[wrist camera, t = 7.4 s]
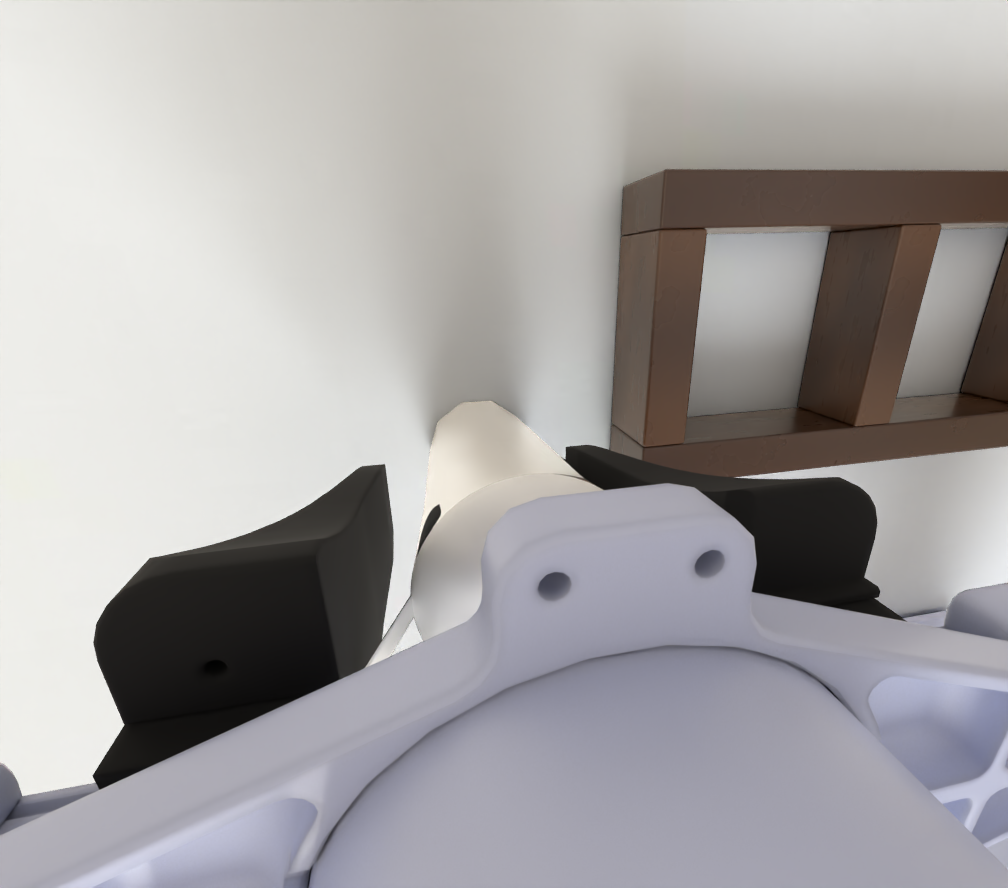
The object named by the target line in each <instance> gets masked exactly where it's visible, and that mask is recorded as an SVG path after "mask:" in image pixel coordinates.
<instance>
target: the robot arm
mask: <svg viewBox="0 0 1008 888" xmlns="http://www.w3.org/2000/svg"><path fill="white" fill-rule="evenodd" d="M566 461H568V462H569V463H570V464H571V465H573V466H574V467H575V468H576V469H578V470H579V471H580V472H582V473H583V474H584V475H585V476H587V477H588V478H589V479H590V480H592V481H593V482H594V483H595V484H597V485H598V486H599V487H600V488H602V489H603V491H594V492H585V493H576V494H567V495H558V496H550V497H541V498H538V499H535V500H532V501H529V502H527V503H524V504H521V505H518V506H515V507H513V508H510V509H509V510H508V511H507V512H506V513H505V514H504V515H503V516H502V517H501V518H500V519H499V520H498V521H497V522H496V523H495V524H494V526H493V527H492V528H491V529H490V530H489V531H488V533H487V537H486V541H485V545H484V549H483V553H482V557H481V570H482V598H481V603H480V606H479V608H478V610H477V612H476V613H475V614H474V615H473V616H472V617H471V618H470V619H469V620H468V621H467V622H464V623H462V624H460V625H458V626H456V627H453V628H451V629H449V630H447V631H445V632H443V633H440V634H438V635H436V636H434V637H432V638H429V639H427V640H425V641H423V642H421V643H419V644H416V645H414V646H412V647H410V648H408V649H405V650H403V651H401V652H399V653H397V654H395V655H392V656H390V657H388V658H386V659H384V660H382V661H379V662H377V663H375V664H373V665H371V666H368V667H366V668H365V666H366V664H367V663H368V661H369V660H370V658H371V657H372V655H373V653H374V652H375V650H376V649H377V647H378V646H379V644H380V642H381V641H382V634H383V624H384V618H385V611H386V605H387V598H388V592H389V585H390V579H391V572H392V565H393V523H392V516H391V508H390V500H389V492H388V484H387V476H386V468H385V464H383V465H372V466H362V467H360V468H358V469H357V470H355V471H354V472H353V473H352V474H350V475H349V476H348V477H347V478H345V479H344V480H343V481H342V482H340V483H339V484H338V485H337V486H335V487H334V488H333V489H331V490H330V491H329V492H327V493H326V494H324V495H323V496H321V497H320V498H318V499H317V500H315V501H314V502H313V503H311V504H310V505H308V506H306V507H305V508H303V509H301V510H299V511H298V512H296V513H294V514H292V515H290V516H288V517H286V518H284V519H282V520H280V521H278V522H275V523H273V524H271V525H268V526H266V527H263V528H261V529H258V530H256V531H253V532H251V533H248V534H246V535H243V536H240V537H236V538H233V539H230V540H227V541H224V542H220V543H217V544H213V545H209V546H206V547H202V548H197V549H193V550H188V551H183V552H179V553H174V554H169V555H164V556H159V557H153V558H150V559H149V560H148V561H147V562H146V563H145V564H144V565H143V566H142V567H141V568H140V570H139V571H138V572H137V573H136V574H135V575H134V576H133V577H132V578H131V579H130V581H129V582H128V583H127V584H126V585H125V586H124V587H123V588H122V589H121V590H120V592H119V593H118V594H117V595H116V596H115V597H114V598H113V599H112V600H111V601H110V603H109V604H108V605H107V606H106V608H105V610H104V611H103V613H102V615H101V617H100V618H99V620H98V622H97V624H96V630H95V636H94V647H95V652H96V656H97V661H98V664H99V666H100V668H101V671H102V673H103V675H104V678H105V680H106V683H107V685H108V687H109V690H110V692H111V694H112V697H113V699H114V701H115V704H116V706H117V709H118V711H119V713H120V716H121V718H122V720H123V723H124V724H125V725H124V727H123V728H122V730H121V732H120V733H119V735H118V736H117V738H116V739H115V741H114V743H113V744H112V746H111V747H110V749H109V751H108V752H107V754H106V755H105V757H104V759H103V760H102V762H101V763H100V765H99V766H98V768H97V770H96V771H95V773H94V774H93V778H94V780H95V782H96V783H92V784H87V785H81V786H76V787H70V788H65V789H60V790H54V791H49V792H43V793H38V794H32V795H27V796H22V794H21V791H20V788H19V785H18V782H17V780H16V778H15V776H14V775H13V773H12V771H11V770H10V769H9V768H7V767H6V766H5V765H4V764H2V763H0V888H1008V583H1004V584H998V585H992V586H987V587H981V588H975V589H969V590H965V591H963V592H960V593H959V594H958V595H956V596H955V597H954V598H953V599H952V601H951V602H950V604H949V605H948V608H947V611H940V612H935V613H929V614H924V615H918V616H912V617H907V618H902V617H900V616H899V615H897V614H896V613H894V612H893V611H892V610H890V609H889V608H887V607H886V606H884V605H883V604H882V603H880V602H879V601H877V600H876V599H874V598H877V597H879V594H880V590H879V588H878V586H876V585H875V584H873V583H872V582H870V581H869V580H867V579H866V578H864V575H865V572H866V568H867V565H868V561H869V558H870V554H871V550H872V547H873V543H874V540H875V535H876V528H877V516H876V508H875V505H874V504H873V502H872V500H871V498H870V496H869V495H868V494H867V493H866V492H865V491H864V490H862V489H861V488H860V487H858V486H856V485H854V484H852V483H850V482H848V481H846V480H844V479H842V478H840V477H831V478H808V479H748V478H734V477H723V476H714V475H706V474H699V473H694V472H688V471H683V470H678V469H673V468H669V467H665V466H661V465H657V464H653V463H650V462H646V461H643V460H639V459H636V458H633V457H630V456H627V455H624V454H620V453H617V452H614V451H611V450H608V449H604V448H601V447H597V446H592V445H581V446H570V447H566Z"/></svg>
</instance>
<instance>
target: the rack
mask: <svg viewBox="0 0 1008 888" xmlns="http://www.w3.org/2000/svg"><path fill="white" fill-rule="evenodd" d="M977 228H1008V170H735V169H666V170H663V171H661V172H658V173H656V174H653V175H651V176H648V177H646V178H643V179H641V180H639V181H636V182H634V183H631V184H629V185H626V186H624V188H623V206H622V225H621V235H622V237H621V248H620V268H619V287H618V307H617V326H616V346H615V365H614V384H613V404H612V425H611V443H610V450H611V451H614V452H617V453H620V454H624V455H627V456H630V457H633V458H636V459H639V460H643V461H646V462H650V463H653V464H657V465H661V466H665V467H669V468H673V469H678V470H683V471H688V472H694V473H699V474H706V475H714V476H723V477H741V476H750V475H759V474H768V473H777V472H786V471H794V470H803V469H812V468H821V467H830V466H839V465H847V464H856V463H865V462H874V461H883V460H892V459H900V458H909V457H918V456H927V455H936V454H945V453H953V452H962V451H971V450H980V449H989V448H998V447H1006V446H1008V241H1007V245H1006V248H1005V251H1004V254H1003V257H1002V261H1001V264H1000V267H999V270H998V273H997V277H996V280H995V283H994V286H993V289H992V293H991V296H990V299H989V302H988V305H987V309H986V312H985V315H984V318H983V321H982V325H981V328H980V331H979V334H978V337H977V341H976V344H975V347H974V350H973V353H972V357H971V360H970V363H969V366H968V369H967V373H966V376H965V379H964V382H963V385H962V389H961V392H963V393H956V394H945V395H933V396H922V397H911V398H900V399H896V396H897V393H898V389H899V385H900V381H901V377H902V374H903V370H904V366H905V362H906V359H907V355H908V351H909V347H910V344H911V340H912V336H913V332H914V329H915V325H916V321H917V317H918V313H919V310H920V306H921V302H922V298H923V295H924V291H925V287H926V283H927V280H928V276H929V272H930V268H931V264H932V261H933V257H934V253H935V249H936V246H937V242H938V238H939V234H940V231H941V229H977ZM833 231H834V232H833ZM786 232H831V234H830V240H829V245H828V250H827V255H826V260H825V266H824V271H823V276H822V281H821V286H820V292H819V297H818V302H817V307H816V312H815V318H814V323H813V328H812V333H811V338H810V344H809V349H808V354H807V359H806V364H805V370H804V375H803V380H802V385H801V390H800V396H799V401H798V408H787V409H776V410H765V411H753V412H742V413H731V414H720V415H708V416H697V417H687V410H688V401H689V392H690V383H691V373H692V364H693V355H694V346H695V337H696V327H697V318H698V309H699V300H700V291H701V282H702V272H703V263H704V254H705V245H706V236H707V234H738V233H786Z"/></svg>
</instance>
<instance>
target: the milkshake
mask: <svg viewBox="0 0 1008 888" xmlns="http://www.w3.org/2000/svg"><path fill="white" fill-rule="evenodd" d="M594 491H603V489H602V488H600V487H599V486H598V485H597V484H595V483H594V482H593V481H592V480H590V479H589V478H588V477H587V476H585V475H584V474H583V473H582V472H580V471H579V470H578V469H576V468H575V467H574V466H573V465H571V464H570V463H569V462H568V461H566V460H565V459H564V458H562V457H561V456H560V455H558V454H557V453H556V452H555V451H554V450H553V449H552V448H551V447H550V446H549V445H547V444H546V443H545V442H544V441H543V440H542V439H541V438H540V437H539V436H538V435H536V434H535V433H534V432H533V431H532V430H531V429H530V428H529V427H528V426H527V425H525V424H524V423H523V422H522V421H521V420H520V419H519V418H518V417H516V416H515V415H513V414H512V413H510V412H509V411H507V410H505V409H504V408H502V407H501V406H499V405H498V404H496V403H495V402H493V401H477V402H461V403H460V404H459V405H458V406H456V407H455V408H454V409H453V410H451V411H450V412H449V413H448V414H446V415H445V416H444V417H442V418H441V419H440V420H439V421H438V422H437V425H436V429H435V433H434V437H433V440H432V444H431V448H430V452H429V462H428V472H427V482H426V492H425V502H424V510H423V515H422V520H421V526H420V532H419V538H418V544H417V550H416V556H415V562H414V568H413V573H412V579H411V596H410V597H409V599H408V600H407V602H406V603H405V605H404V606H403V608H402V610H401V611H400V613H399V614H398V616H397V617H396V619H395V621H394V622H393V624H392V625H391V627H390V628H389V630H388V632H387V633H386V635H385V636H384V638H383V639H382V641H381V642H380V644H379V646H378V647H377V649H376V650H375V652H374V653H373V655H372V657H371V658H370V660H369V661H368V663H367V664H366V666H365V668H366V667H368V666H371V665H373V664H375V663H377V662H379V661H382V660H384V659H386V658H388V657H390V656H391V655H392V653H393V652H394V650H395V648H396V646H397V645H398V643H399V641H400V640H401V638H402V636H403V635H404V633H405V631H406V630H407V628H408V626H409V624H410V623H411V621H412V619H413V618H414V619H415V623H416V626H417V628H418V631H419V633H420V635H421V637H422V639H423V641H425V640H427V639H429V638H432V637H434V636H436V635H438V634H440V633H443V632H445V631H447V630H449V629H451V628H453V627H456V626H458V625H460V624H462V623H464V622H467V621H468V620H469V619H470V618H471V617H472V616H473V615H474V614H475V613H476V612H477V610H478V608H479V606H480V603H481V598H482V570H481V557H482V553H483V549H484V545H485V541H486V537H487V533H488V531H489V530H490V529H491V528H492V527H493V526H494V524H495V523H496V522H497V521H498V520H499V519H500V518H501V517H502V516H503V515H504V514H505V513H506V512H507V511H508V510H509V509H510V508H513V507H515V506H518V505H521V504H524V503H527V502H529V501H532V500H535V499H538V498H541V497H550V496H558V495H567V494H576V493H585V492H594Z"/></svg>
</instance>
